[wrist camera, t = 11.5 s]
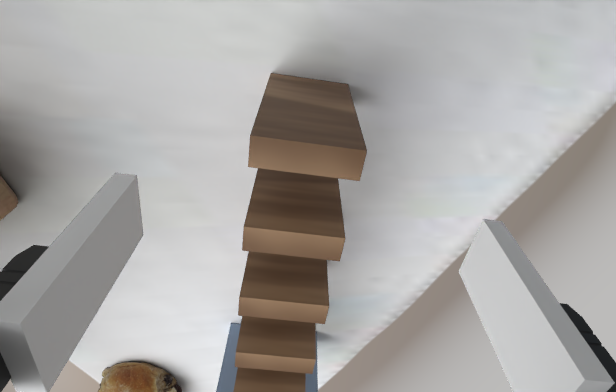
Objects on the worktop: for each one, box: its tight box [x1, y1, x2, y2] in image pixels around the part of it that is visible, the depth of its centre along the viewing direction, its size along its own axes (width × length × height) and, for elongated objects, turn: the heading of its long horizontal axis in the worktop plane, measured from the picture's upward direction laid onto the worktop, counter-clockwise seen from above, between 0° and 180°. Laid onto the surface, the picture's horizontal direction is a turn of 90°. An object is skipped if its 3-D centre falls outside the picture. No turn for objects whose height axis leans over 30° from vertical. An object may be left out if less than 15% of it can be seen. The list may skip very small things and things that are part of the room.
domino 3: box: [235, 316, 316, 374], centre depth 34 cm, size 2×6×12 cm, turn 82°
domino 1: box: [242, 168, 345, 261], centre depth 28 cm, size 2×6×12 cm, turn 82°
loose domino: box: [248, 73, 367, 181], centre depth 25 cm, size 2×6×12 cm, turn 82°
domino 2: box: [238, 251, 329, 324], centre depth 31 cm, size 2×6×12 cm, turn 82°
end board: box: [216, 323, 318, 392], centre depth 40 cm, size 2×10×14 cm, turn 82°
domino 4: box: [233, 367, 306, 392], centre depth 37 cm, size 2×6×12 cm, turn 82°
